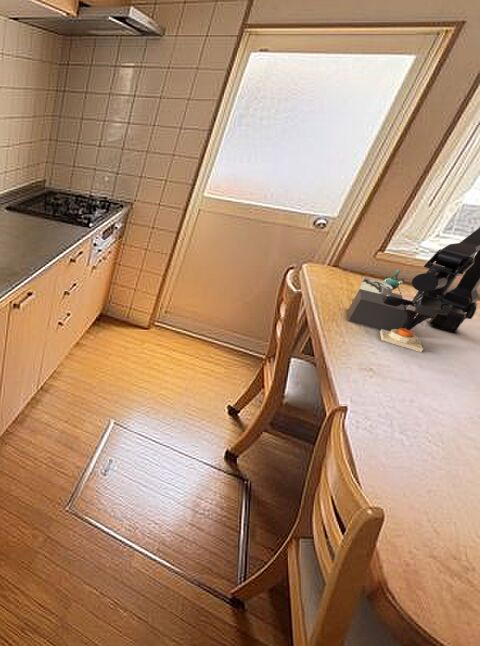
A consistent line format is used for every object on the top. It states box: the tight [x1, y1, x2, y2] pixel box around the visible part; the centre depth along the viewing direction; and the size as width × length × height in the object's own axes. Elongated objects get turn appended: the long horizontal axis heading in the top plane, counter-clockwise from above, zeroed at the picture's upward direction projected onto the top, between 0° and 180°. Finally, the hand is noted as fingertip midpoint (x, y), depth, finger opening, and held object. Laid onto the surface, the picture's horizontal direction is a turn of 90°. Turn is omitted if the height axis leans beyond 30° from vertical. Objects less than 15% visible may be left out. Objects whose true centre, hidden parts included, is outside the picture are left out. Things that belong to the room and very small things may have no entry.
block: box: [379, 329, 424, 353], centre depth 141 cm, size 10×8×3 cm
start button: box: [397, 328, 415, 337], centre depth 140 cm, size 4×4×2 cm
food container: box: [355, 277, 393, 296], centre depth 164 cm, size 12×6×10 cm, turn 168°
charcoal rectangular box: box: [347, 288, 407, 331], centre depth 152 cm, size 14×13×9 cm
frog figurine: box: [382, 269, 405, 295], centre depth 170 cm, size 10×18×15 cm, turn 146°
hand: (407, 329), depth 140 cm, fingers closed
